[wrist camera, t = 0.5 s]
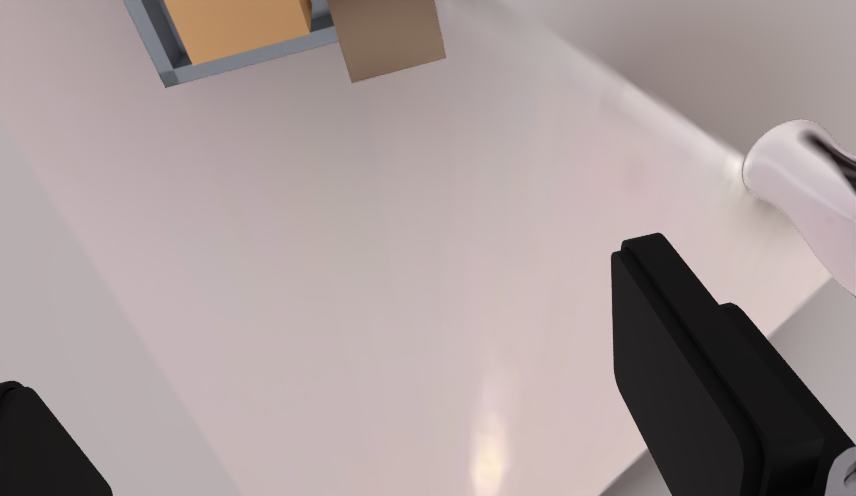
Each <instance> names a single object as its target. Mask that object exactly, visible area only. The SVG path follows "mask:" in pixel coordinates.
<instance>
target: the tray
mask: <svg viewBox="0 0 856 496" xmlns="http://www.w3.org/2000/svg"><path fill="white" fill-rule="evenodd" d="M123 1H124V4H125V6H126V8H127V10H128V12H129V14H130V16H131V18H132V20H133V22H134V24H135V26H136V28H137V30H138V32H139V34H140V37H141V39H142V41H143V43H144V45H145V47H146V49H147V51H148V53H149V55H150V57H151V59H152V61H153V63H154V65H155V67H156V70H157V72H158V74H159V76H160V78H161V80H162V82H163V84H164V86H165V88H167V87H170V86H174V85H178V84H182V83H185V82H189V81H193V80H197V79H200V78H204V77H208V76H212V75H215V74H219V73H223V72H226V71H230V70H234V69H238V68H241V67H245V66H249V65H253V64H256V63H260V62H264V61H268V60H271V59H275V58H279V57H283V56H286V55H290V54H294V53H297V52H301V51H305V50H309V49H312V48H316V47H320V46H324V45H327V44H331V43H335V42H339V39H338V36H337V33H336V29H335V26H334V23H333V19H332V16H331V13H330V10H329V6H328V3H327V0H311V2H312V15H311V28H310V34H309V35H305V36H302V37H298V38H294V39H291V40H287V41H283V42H279V43H276V44H272V45H268V46H264V47H261V48H257V49H253V50H250V51H246V52H242V53H238V54H235V55H231V56H227V57H223V58H220V59H216V60H212V61H209V62H205V63H201V64H197V65H194V66H193V64H192V62H191V60H190V58H189V55H188V53H187V51H186V49H185V46H184V44H183V42H182V40H181V38H180V35H179V33H178V31H177V29H176V26H175V24H174V22H173V20H172V18H171V15H170V13H169V11H168V9H167V6H166V4H165V2H164V0H123Z"/></svg>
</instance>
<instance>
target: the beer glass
mask: <svg viewBox="0 0 856 496" xmlns="http://www.w3.org/2000/svg"><path fill="white" fill-rule="evenodd" d="M743 181H744V184H745V186H746V187H747V189H748V190H749V191H750V192H751V193H752V194H753V195H754V196H756V197H758V198H759V199H761V200H763V201H765V202H767V203H769V204H771V205H773V206H775V207H776V208H778V209H779V210H780V211H782V212H783V213H784V214H785V215H786V216H787V217H788V218H789V219H790V221H791V222H792V223H793V225H794V226H795V227H796V229H797V230H798V232H799V233H800V235H801V236H802V238H803V239H804V241H805V242H806V243H807V245H808V246H809V248H810V249H811V250H812V252H813V253H814V255H815V256H816V257H817V258H818V260H819V261H820V262H821V263H822V265H823V266H824V267H825V268H826V270H827V271H828V272H829V273H830V274H831V275H832V276H833V277H834V278H835V279H836V280H837V281H838V282H839V283H840V284H841V285H842V286H843V287H844V288H845V289H846V290H848V291H849V292H850V293H851V294H852V295H853V296H855V297H856V155H855V154H853V153H851V152H849V151H847V150H846V149H844V148H843V147H842V146H841V145H840V144H839V143H837V142H836V140H835V139H834V138H833V137H832V136H831V135H830V133H829V132H828V131H827V130H826V129H825V128H824V127H822V126H821V125H820V124H818V123H816V122H814V121H811V120H806V119H796V120H791V121H787V122H784V123H782V124H779V125H777V126H775V127H774V128H772V129H770V130H769V131H768V132H766V133H765V134H764V135H763V136H761V137H760V138H759V139H758V141H757V142H756V143H755V144H754V145H753V147H752V148H751V149H750V151H749V153H748V155H747V157H746V159H745V162H744V165H743Z"/></svg>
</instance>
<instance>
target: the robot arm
mask: <svg viewBox="0 0 856 496" xmlns="http://www.w3.org/2000/svg"><path fill="white" fill-rule="evenodd" d="M611 279H612V318H613V356H614V374H615V379H616V383H617V386H618V389H619V391H620V393H621V395H622V397H623V399H624V401H625V403H626V405H627V407H628V409H629V411H630V413H631V415H632V417H633V419H634V421H635V423H636V425H637V427H638V429H639V431H640V433H641V435H642V437H643V439H644V441H645V443H646V445H647V447H648V449H649V451H650V453H651V454H652V457H653V459H654V461H655V462H656V465H657V467H658V469H659V471H660V473H661V474H662V476H663V478H664V480H665V482H666V484H667V486H668V488H669V490H670V492H671V494H672V496H856V445H855V444H854V443H853V441H852V440H851V439H850V438H849V437H848V436H847V434H846V433H845V432H844V431H843V429H842V428H841V427H840V426H839V425H838V423H837V422H836V421H835V420H834V419H833V417H832V416H831V415H830V414H829V413H828V412H827V410H826V409H825V408H824V407H823V405H822V404H821V403H820V402H819V401H818V400H817V398H816V397H815V396H814V395H813V394H812V393H811V391H810V390H809V389H808V388H807V386H806V385H805V384H804V383H803V382H802V380H801V379H800V378H799V377H798V376H797V375H796V373H795V372H794V371H793V370H792V368H791V367H790V366H789V365H788V364H787V363H786V361H785V360H784V359H783V358H782V357H781V355H780V354H779V353H778V352H777V351H776V350H775V348H774V347H773V346H772V345H771V343H769V341H768V340H767V339H766V337H765V336H764V335H763V334H762V333H761V331H760V330H759V329H758V328H757V327H756V326H755V324H754V323H753V322H752V321H751V320H750V318H749V317H748V316H747V315H746V314H745V312H744V311H743V310H741V309H740V308H739V307H738V306H737V305H735V304H733V303H731V302H730V303H725V304H721V305H719V304H718V303H717V302H716V300H715V299H714V298H713V297H712V295H711V294H710V293H709V292H708V290H707V289H706V288H705V287H704V285H703V284H702V283H701V282H700V280H699V279H698V278H697V277H696V275H695V274H694V273H693V272H692V270H691V269H690V268H689V267H688V265H687V264H686V263H685V262H684V260H683V259H682V258H681V257H680V255H679V254H678V253H677V252H676V250H675V249H674V248H673V247H672V245H671V244H670V243H669V241H668V240H667V239H666V238H665V237H664V236H663V235H662V234H661V233H654V234H650V235H645V236H641V237H637V238H632V239H628V240H624V241H623V242H622V245H621V251H617V252H613V253H612V255H611ZM0 496H113V494H112V490H111V488H110V486H109V484H108V483H107V482H106V480H105V479H104V478H103V477H102V475H101V474H100V473H99V472H98V470H97V469H96V468H95V466H94V465H93V464H92V463H91V462H90V461H89V459H88V458H87V456H86V455H85V454H84V453H83V451H82V450H81V449H80V447H79V446H78V445H77V444H76V443H75V441H74V440H73V439H72V437H71V436H70V435H69V434H68V432H67V431H66V430H65V429H64V427H63V426H62V425H61V423H60V422H59V421H58V420H57V418H56V417H55V416H54V415H53V413H52V412H51V411H50V410H49V408H48V407H47V406H46V405H45V403H44V402H43V401H42V399H41V398H40V397H39V396H38V394H37V393H36V392H35V391H34V390H33V389H32V388H29V387H24V386H22V384H20V383H19V382H16V381H7V382H3V383H0Z"/></svg>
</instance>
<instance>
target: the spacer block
mask: <svg viewBox="0 0 856 496" xmlns="http://www.w3.org/2000/svg"><path fill="white" fill-rule="evenodd" d="M164 2H165V4H166V6H167V9H168V11H169V13H170V15H171V18H172V20H173V22H174V24H175V26H176V29H177V31H178V33H179V35H180V38H181V40H182V42H183V44H184V46H185V49H186V51H187V53H188V55H189V58H190V60H191V62H192V64H193V66H194V65H197V64H201V63H205V62H209V61H212V60H216V59H220V58H223V57H227V56H231V55H235V54H238V53H242V52H246V51H250V50H253V49H257V48H261V47H264V46H268V45H272V44H276V43H279V42H283V41H287V40H291V39H294V38H298V37H302V36H305V35H309V34H310V28H311V15H312V2H311V0H164Z"/></svg>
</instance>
